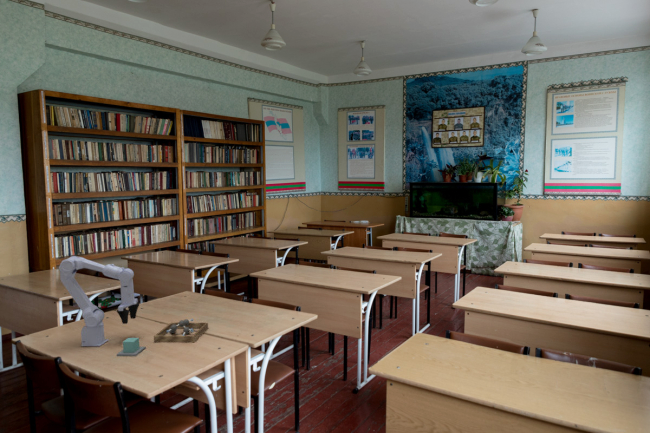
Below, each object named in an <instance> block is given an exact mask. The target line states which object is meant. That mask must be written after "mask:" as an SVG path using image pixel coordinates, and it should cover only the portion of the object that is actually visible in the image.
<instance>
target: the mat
mask: <svg viewBox="0 0 650 433" xmlns="http://www.w3.org/2000/svg"><path fill="white" fill-rule="evenodd" d="M146 348H147V347H146V346H139V349H138V350H137V351H136V352H134V353H123V349H122V350H121V351H119V352H117V353H116V356H117V357H137V356H138V355H140V354H141V353H142V352H143V351H144V350H146Z"/></svg>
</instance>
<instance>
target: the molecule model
mask: <svg viewBox="0 0 650 433" xmlns="http://www.w3.org/2000/svg"><path fill="white" fill-rule="evenodd" d="M193 321H194V319H193V318H191V319H183V320H179V321H178V322H179V324H178V325H175V324H174V325H172V326H171V327H170V329H169V330H167V334H168V333H171V334H174V333H176V331H177V330H178V329H177V326H180V327H184V329H183V334H182V335H181V336H186V334H189V333H190V332H191V333H192V332H193V333H194V329H190V328H189V327H185V326H187V325H188V324H189V323H190V322H193Z"/></svg>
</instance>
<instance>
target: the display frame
mask: <svg viewBox="0 0 650 433" xmlns="http://www.w3.org/2000/svg"><path fill="white" fill-rule="evenodd" d="M179 322H180V321H177V322H170V323H168V325H166V326H165V327H163V328H162V329H161V330H159V332H157V333H156V334H155V335H154V336H153V343H195V342H196V341H197V340H198V339H199V338H200V337H202V335H203V334H204V333H205V332H206V331H208V329H209V322H189V324H188V325H187V326H185V327H189V328H190V329H193V330H195V329H196V330H197V331H196V332H195V333H194V334H193V335H185V336H182V335H167V334H168V333H167V330H169V329H170V327H171V326H172V325H174V324H175V325H178V324H179ZM178 329H181V330H182V329H183V330H184V327H180V326H177V330H178ZM166 333H167V334H166Z"/></svg>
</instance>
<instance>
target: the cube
mask: <svg viewBox="0 0 650 433" xmlns="http://www.w3.org/2000/svg"><path fill="white" fill-rule="evenodd" d="M139 347H140V338H139V337H128V338H126V339H125V340H123V341H122V350H123V353H134V352H136V351H137V350H138V349H139Z"/></svg>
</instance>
